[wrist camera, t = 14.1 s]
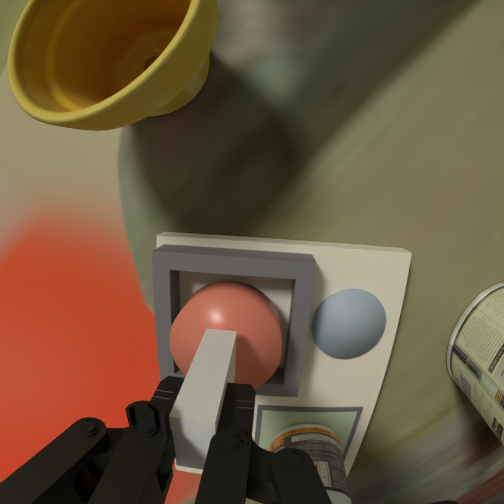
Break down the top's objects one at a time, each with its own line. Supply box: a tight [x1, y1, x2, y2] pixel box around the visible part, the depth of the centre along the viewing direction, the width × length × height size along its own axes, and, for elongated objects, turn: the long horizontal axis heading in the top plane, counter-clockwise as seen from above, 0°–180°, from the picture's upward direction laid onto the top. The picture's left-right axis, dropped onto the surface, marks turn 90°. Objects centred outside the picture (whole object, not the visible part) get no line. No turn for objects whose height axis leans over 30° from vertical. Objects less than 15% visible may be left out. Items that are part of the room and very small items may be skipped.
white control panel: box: [153, 232, 412, 477], centre depth 21 cm, size 22×16×4 cm
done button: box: [169, 281, 282, 389], centre depth 17 cm, size 6×6×2 cm
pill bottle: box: [268, 424, 352, 504], centre depth 17 cm, size 6×6×10 cm
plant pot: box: [7, 0, 218, 131], centre depth 14 cm, size 10×10×10 cm
